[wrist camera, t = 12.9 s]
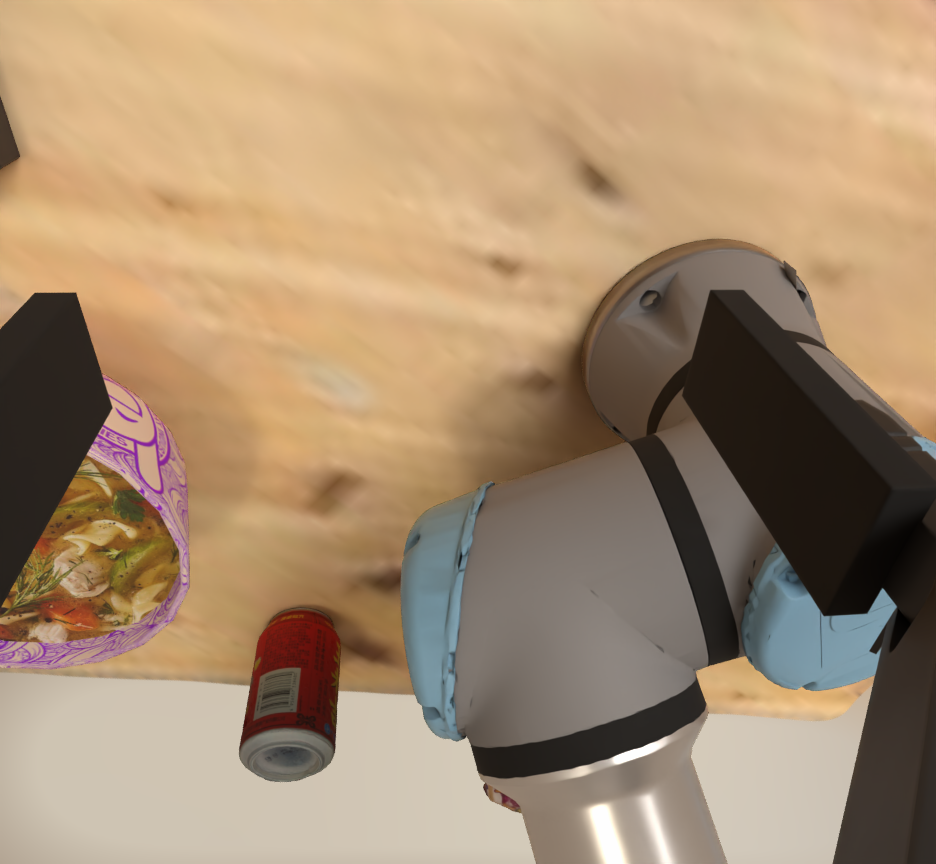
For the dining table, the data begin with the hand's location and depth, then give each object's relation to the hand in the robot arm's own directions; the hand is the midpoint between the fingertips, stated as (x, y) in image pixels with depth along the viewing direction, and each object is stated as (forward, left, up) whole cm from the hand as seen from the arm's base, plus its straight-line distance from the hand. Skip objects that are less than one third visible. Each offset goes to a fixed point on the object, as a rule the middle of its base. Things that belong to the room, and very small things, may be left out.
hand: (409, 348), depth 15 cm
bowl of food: (-21, +22, -27) cm, 41 cm away
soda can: (-43, +9, -27) cm, 52 cm away
